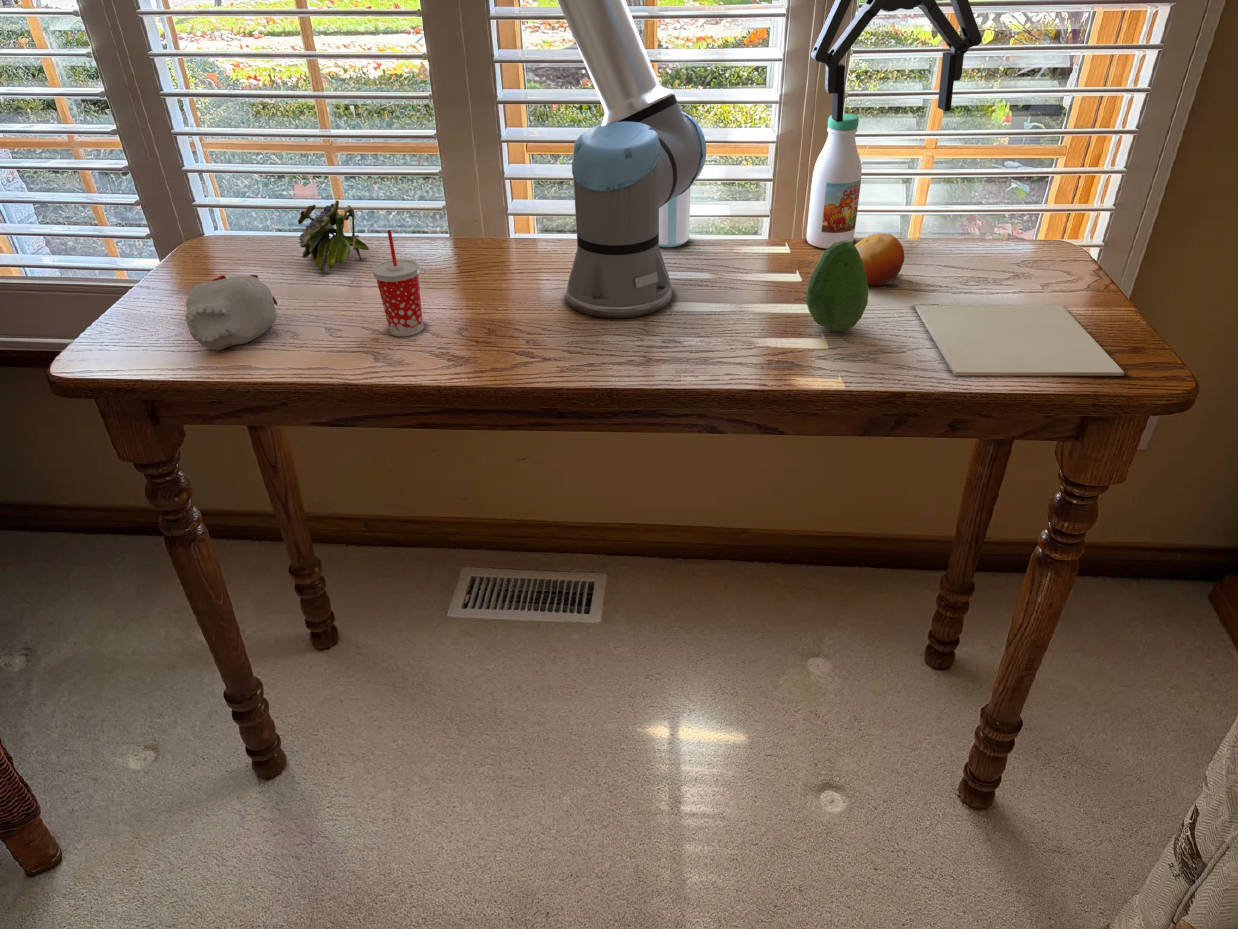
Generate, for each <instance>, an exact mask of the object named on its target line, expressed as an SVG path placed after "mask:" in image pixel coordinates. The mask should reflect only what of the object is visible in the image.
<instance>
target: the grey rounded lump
mask: <svg viewBox="0 0 1238 929" xmlns="http://www.w3.org/2000/svg"><path fill="white" fill-rule="evenodd" d="M185 305H186V312H185V321H186V325H187V327H188V332H189V334H190V336H191V337H192V340H194V341H196V342H198V344H200V345H201V347H204V348H206V349H209V350H211V351H222V350H224V349H227V348H229V347H232V346H236V345H245V344H247V343H249V342H252V341H254V340H256V339H257V338H259V337H261V336H262V335H263V334H264V333H265V332H266V331H268V330H270V329H272V326H273V325H274V324H275V322H276V320H277V315H278V313H277V310H276V306H277V305H278V301H277V300H276V298H275V297H274V295H273V294H272V291H271V289H270V288H269V286H268V285H266V283H264V282H262V281H260V279H259V276H258V274H250V275H237V276H232V277H226V276H225V275H223V274H221V275H220V276H218V277H215V278H213V279H212V280H210V281H209V280H208V281H205V282H200V283H194V284H192V286H191V289H190V292H189V294H188V296H187V298H186V302H185Z"/></svg>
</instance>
